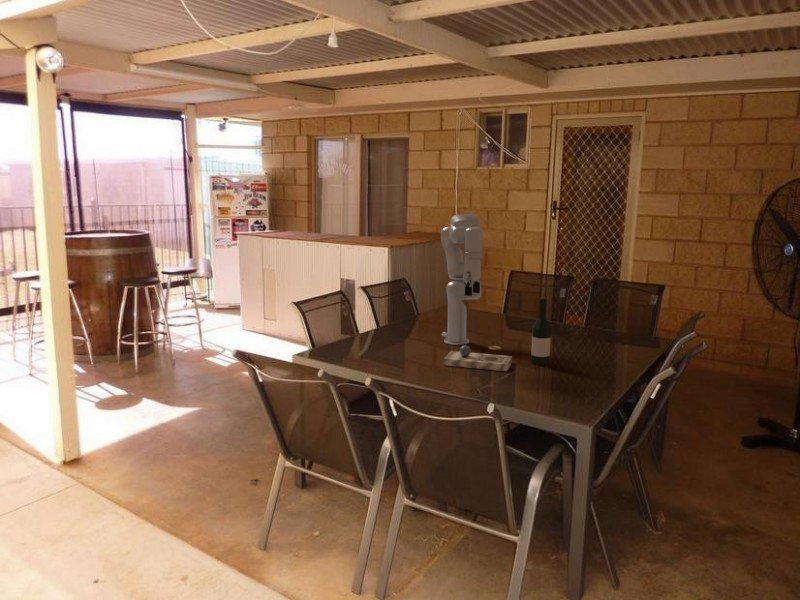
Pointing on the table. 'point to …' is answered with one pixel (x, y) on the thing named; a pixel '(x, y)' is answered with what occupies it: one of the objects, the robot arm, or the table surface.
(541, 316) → the wine bottle
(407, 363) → the table surface
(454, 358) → the beige flat board
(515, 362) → the table surface
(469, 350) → the ball
